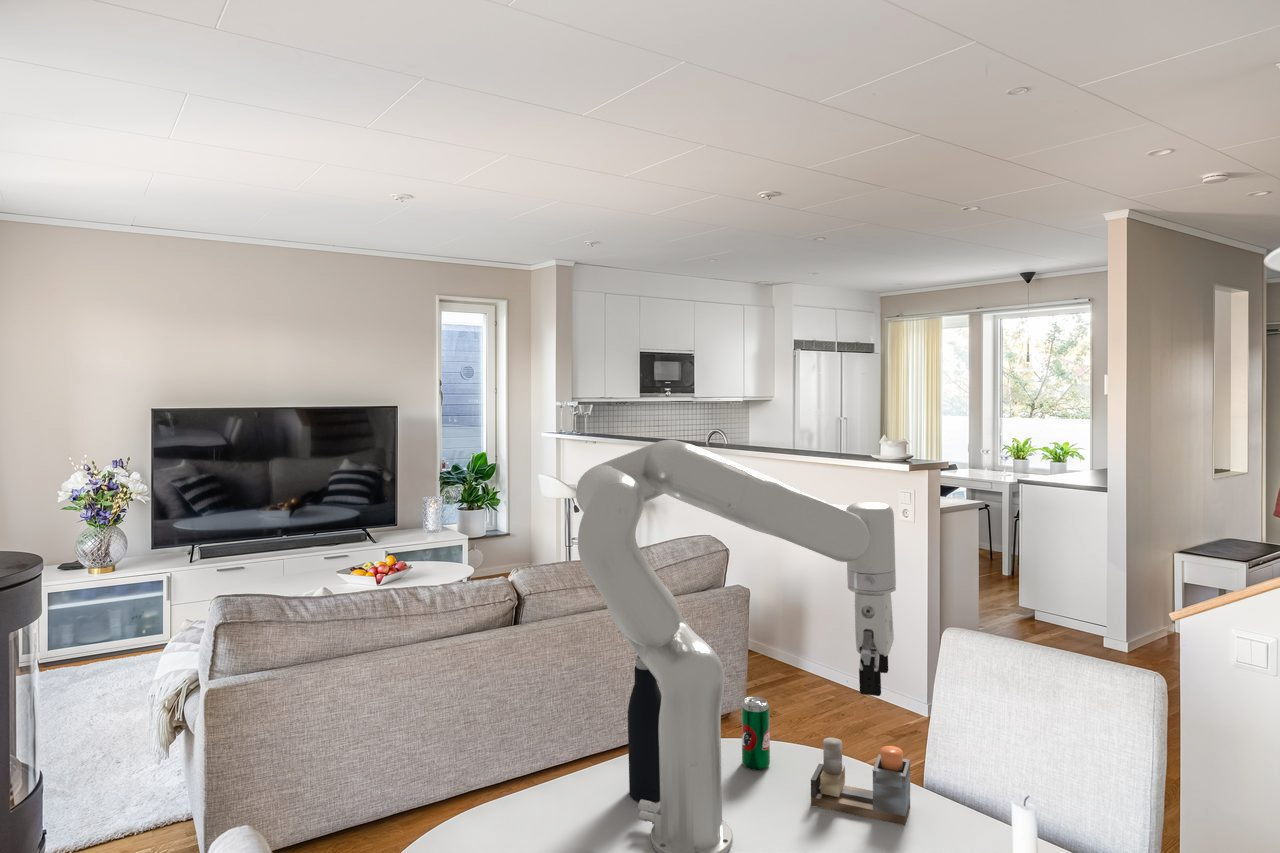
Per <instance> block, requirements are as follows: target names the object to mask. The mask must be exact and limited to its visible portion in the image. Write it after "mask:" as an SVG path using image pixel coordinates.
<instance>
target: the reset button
mask: <svg viewBox="0 0 1280 853" xmlns="http://www.w3.org/2000/svg"><path fill="white" fill-rule="evenodd" d="M880 755H881V767H882V768H883V769H885V770H889V771H900V770H902V769H903V759H904V751H903V750H902V749H901V748H900V747H898V746H894V745H885V746H882V747H881V748H880Z"/></svg>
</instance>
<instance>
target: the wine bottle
mask: <svg viewBox="0 0 1280 853" xmlns="http://www.w3.org/2000/svg"><path fill="white" fill-rule="evenodd" d="M635 657H636V658H635V665H634V670H633V671H634V684H633V688H632V691H631V693H630V697H629V702H628V707H627V736H628V737H627V744H628V787H629V789H628V790H629V796H630V798H631V799H632V800H634V801H636V802H638V803H639V802H640V800H641V799H643V800H647V801H651V802H654V803H658V802H660V772H659V734H658V726H659V712H660V706H661V689H660V686H659V683H658V682H657V681H656V679H655V678H654V676H653V675H652V674H651V672H650V671H649V670H648V668H647V667H646V666H645V664H644V663H643V661H642V660H641V659H640V657H639V656H638V655H636V656H635Z"/></svg>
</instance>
